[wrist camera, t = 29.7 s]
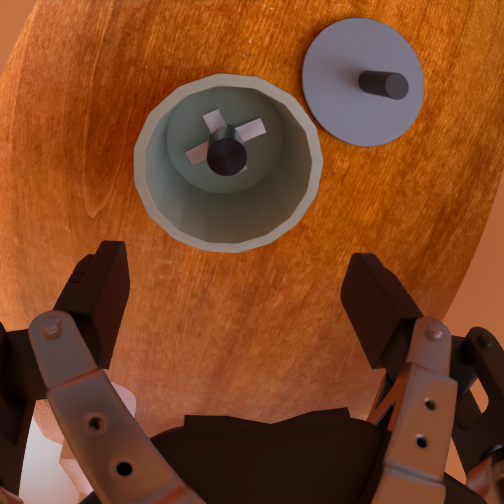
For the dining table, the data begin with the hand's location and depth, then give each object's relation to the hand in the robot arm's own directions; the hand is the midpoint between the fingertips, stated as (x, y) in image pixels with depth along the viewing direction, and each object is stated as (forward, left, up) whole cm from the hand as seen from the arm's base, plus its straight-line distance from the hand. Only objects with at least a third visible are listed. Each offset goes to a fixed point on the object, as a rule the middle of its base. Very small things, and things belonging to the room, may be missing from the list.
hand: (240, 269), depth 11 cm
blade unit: (0, 0, -21) cm, 21 cm away
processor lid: (+13, +8, -21) cm, 26 cm away
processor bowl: (0, 0, -22) cm, 22 cm away
